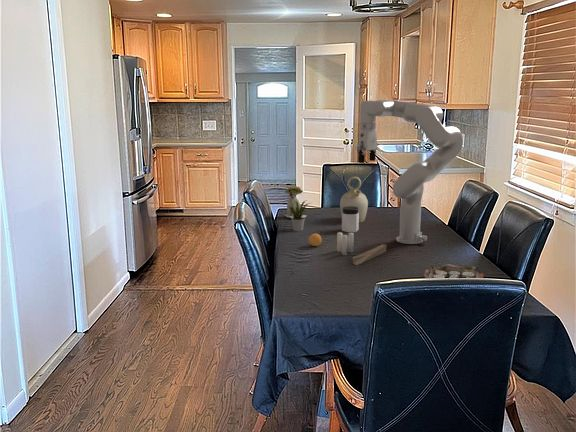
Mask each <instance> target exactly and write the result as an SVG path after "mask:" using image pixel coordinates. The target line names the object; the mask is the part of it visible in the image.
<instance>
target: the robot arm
mask: <svg viewBox="0 0 576 432" xmlns="http://www.w3.org/2000/svg"><path fill="white" fill-rule="evenodd" d="M359 107H360V109H359V110H360V112H359V122H360V123H359V134H358V144H357V145H356V151H357V155H358V163H360V164H365V163H366V162H365V161H366V159H365V157H366V155H365V152H366V151H367V152H368V151H370V152H369V161H372V162H374V161H376V155H377V154H376V153H377V149H378V145H379V143H378V134H377V129H376V123H377V122H376V121H377V117H389V116H390V117H396V118H402V119H404V120H405V121H406V122H409V123H413V124H414V123H415V124H418V126H419V128H420V129H421V131H422V133H424V135H425V136H426V138H427V139H428V140H429V142H430V143H431V144H432V145H433V146H435V147H438V148H437V149H436V150H435V151H433V153H431V155H429V156H428V157H427V158H426V159H425V160H423V161H419V162H416V163H414V164H412V165H411V166H409V167H408V169H406V170H405V171H404V172H403V173H402V174H401V175H399V177H398V178H397V179H396V180H395V182H394V183H393V185H392V194H393V195H394V196H395V197H396V198H397V199H399V200H400V211H399V214H400V215H399V236H397V237H395V240H396V242H397V243H400V244H405V245H418V244H419V245H420V244H421V243H423V242H424V241H426V242H427V240H428V236H427V235H424V234H423V232H422V231H421V218H422V217H421V216H422V199H423V194H424V187H425V186H424V184H426V183H428V182H431V181H433V180H434V179H435V178H436V177H437V176H438V175H440V173H441V172H442V171H443V170H445V169H446V168H447V166H449V165H450V163H452V162H453V161H454V160H455V159H456V158H457V157H458V156H459V154H460V153H461V151H462V148H463V142H464V138H463V134H462V132H461V130H460V129H459V128H457V127H456V126H453V125H452V126H448V125H447V126H444V125H443V124H442V120H443V117H444V112H443V110H442V109H441V108H440V107H438V106H435V105H429V104H422V103H414V102H408V101H407V102H406V101H402V100H401V101H399V100H393V99H392V100H391V99H382V100H381V99H380V100H362V101H361V102H360V105H359Z"/></svg>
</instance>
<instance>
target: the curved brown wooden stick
mask: <svg viewBox="0 0 576 432" xmlns="http://www.w3.org/2000/svg"><path fill="white" fill-rule="evenodd" d="M386 252H387V245H386V244H381V245H378V246H376V247H374V248H372V249H369V250H367V251H365V252H363V253H360V254H358V255H355V256H353V257H352V264H353V265H355V266H358V265H360V264H362V263H365V262H367V261H369V260H372V259H373V258H375V257H377V256H380V255H382V254H384V253H386Z"/></svg>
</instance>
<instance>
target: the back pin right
mask: <svg viewBox="0 0 576 432" xmlns="http://www.w3.org/2000/svg"><path fill="white" fill-rule="evenodd" d="M347 233H348V235H347V253H354V242H355V241H354V240H355V239H354V235H355V234H354V233H355V232H347Z"/></svg>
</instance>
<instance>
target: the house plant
mask: <svg viewBox="0 0 576 432" xmlns="http://www.w3.org/2000/svg"><path fill="white" fill-rule="evenodd" d="M306 202H307V200H303V201H302V203H300V204H301V207H300V210H299V206H298V203H297V202H296V201H295V203H296V211H295V209H294V207H293V206H292V205H291V204H290V203H289V204H290V205H291V206H289V205H288V206H289V207H290V210H291V212H290V213H292V214H293V215H294V216H293V215H292V216H293V218H290V219H291V224H292V230H293V231H294V232H302V231H303V230H304V227H305V225H304V224H305V218H306V217H305V218H303V217H302V214H303V215H306V216H307V215H308V213H309V211H305V210H306V208H305V207H307V206H308V205H311V202H309V203H306ZM305 203H306V204H305ZM286 211H287V210H286ZM287 212H288V211H287ZM287 212H286V213H287ZM309 214H310V213H309ZM289 215H291V214H289Z"/></svg>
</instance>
